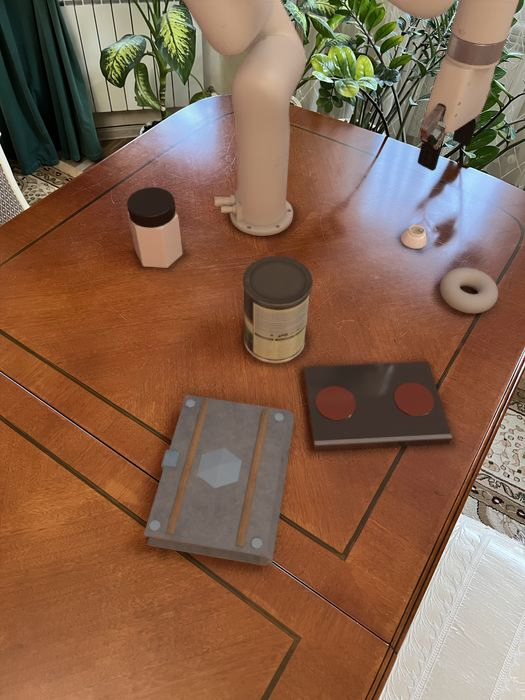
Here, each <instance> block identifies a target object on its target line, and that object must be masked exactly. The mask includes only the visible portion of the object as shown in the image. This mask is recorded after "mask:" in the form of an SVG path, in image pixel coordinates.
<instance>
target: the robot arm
mask: <svg viewBox="0 0 525 700" xmlns="http://www.w3.org/2000/svg"><path fill="white" fill-rule="evenodd" d="M386 1H387V2H389V3H390V4H391V5H393V6H394V7H395V8H397V9H398V10H400V11H401V12H403V13H405V14H407V15H408V16H411V17H415V18H417V19H423V20H429V19H434V18H437V17H439V16H441V15H444V14H445V13H446V12H447V11H448V10H449V9H451V8H452V6H453V5H454V4H455V2H456V1H457V0H386ZM182 2H183V3H184V5H185V6H186V8H187V10H188V11H189V13H190V15H191V16H192V18H193V20H194V21H195V24H196V25H197V27H198V28H199V30H200V32H201V33H202V35H203V37H204V38H205V40H206V41H207V43H208V44H209V46H210V47H211V48H212V50H214V51H215V52H216V53H218V54H219V55H221V56H224V57H235V56H237V55H240V54H241V53H243V52H244V51H245V50H246V52H247V53H248V54H247V55H246V56H245V58H244V60H243V61H242V62H241V64H240V65H239V67H238V69H237V71H236V72H235V75H234V77H233V81H232V85H231V104H232V108H233V109H232V110H233V115H234V123H235V143H236V144H235V147H236V187H237V188H236V189H235V191H234V194H230V196H224V195H223V196H214V197H213V199H214V207H217V208H219V207H220V213H221V214H229V217H230V221H231V223H232V224H233V226H234V227H235V228H237V229H238V230H239V231H241V232H242V233H245V234H248V235H251V236H258V237H267V236H273V235H276V234H279V233H282V232H283V231H285V230H286V229H287V228H289V227H290V225H291V224H292V222H293V218H294V209H293V206H292V205H291V203H290V202H289V201H288V200H287V191H288V176H289V175H288V174H289V162H290V161H289V159H290V142H291V141H290V140H291V122H290V105H291V100H292V98H293V96H294V94H295V91H296V90H297V87H298V85H299V83H300V81H301V80H302V77H303V75H304V73H305V69H306V66H307V65H306V64H307V56H306V51H305V48H304V44H303V42H302V40H301V37H300V35H299V34H298V32H297V30H296V27H295V25H294V23H293V22H292V19H291V17H290V15H289V13H288V12H287V9H286V8H285V5H284V3H283V1H282V0H182ZM519 2H520V0H458V1H457V6H456V9H455V14H454V18H453V21H452V25H451V29H450V34H449V37H448V42H447V44H446V45H447V46H446V48H445V49H446V50H445V58H444V59H443V60H442V63H441V65H440V66H439V69H438V72H437V74H436V76H435V80H434V83H433V85H432V89H431V92H430V94H429V98H428V101H427V105H426V107H425V108H426V110H425V111H424V116H423V122H422V124H421V125H420V127H419V130H420V135H419V136H420V137H419V139H420V143H421V146H420V149H419V153H418V158H417V164H418V165H420V166H421V167H424V168H426V169H427V170H429V171H431V172H433V171H435V170H436V169H437V166H438V162H439V158H440V155H441V152H442V147H441V145H442V143H443V141H444V140H445V138H446V136H447V135H449V134H452V133H453V135H452V141H453V142H456V143H458V144H460V145H461V146H464V147H466V148H468V147H469V146H471V144H472V142H473V138H474V134H475V131H476V130H477V127H478V122H480V121H481V113H482V111H483V109H485V107H486V101H487V100H488V98H489V97H490V94H491V92H492V90H493V88H492V87H491V86H492V82H493V78H494V75H495V71H496V67H497V65H498V64H499V63H500V60H501V57H502V54H503V50H504V48H505V44H506V41H507V38H508V35H509V33H510V30H511V25H512V23H513V20H514V17H515V14H516V11H517V8H518V5H519ZM439 122H441V123H442V124H443V125H440V124H438V123H439ZM435 130H436V131H438V132H439V134H438V136H437V138H436V136H435V135H434V134H433V132H434V131H435Z"/></svg>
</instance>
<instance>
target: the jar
mask: <svg viewBox="0 0 525 700" xmlns="http://www.w3.org/2000/svg"><path fill="white" fill-rule="evenodd" d="M126 206H127V207H126V208H127V218H128V223H129V227H130V231H131V236H132V237H131V238H132V241H133V246H134V251H135V254H136V255H137V257H138V259H139V261H140V263H141V265H142V267H146V268H147V267H148V268H163V269H168V268H169V267H170V266H172V264H173V263H175V262H176V261H177V260H178V259H179V258H180V257H182V256H183V254H184V253H183V244H182V237H181V228H180V220H179V219H180V218H179V215H178V213H177V210H176V209H177V207H176V201H175V197H174V195H173V194H172V193H171V192H170V191H169V190H167V189H164V188H162V187H158V186H157V187H156V186H151V187H144V188H140V189H138V190H135V191H134V192H132V193H131V194H130V195H129V197H128V198H127V201H126Z"/></svg>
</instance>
